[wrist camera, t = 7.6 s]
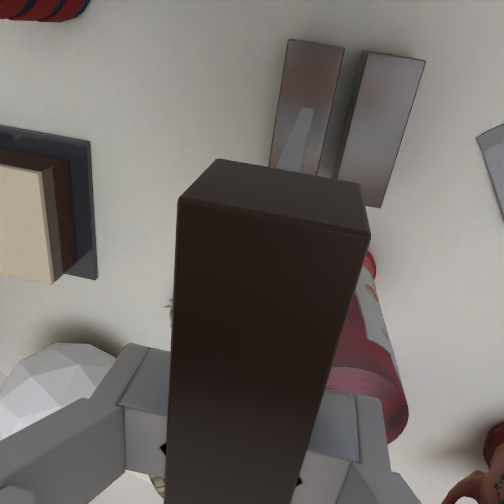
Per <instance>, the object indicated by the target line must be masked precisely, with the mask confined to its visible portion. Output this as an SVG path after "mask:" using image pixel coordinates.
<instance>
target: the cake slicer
mask: <svg viewBox="0 0 504 504" xmlns="http://www.w3.org/2000/svg"><path fill="white" fill-rule="evenodd" d="M313 114H314V109H311V108H305V107H302V109H301V111H300V113H299V116H298V118H297V120H296V123H295V125H294V127H293V130H292V132H291V134H290V137H289V139H288V142H287V144H286V146H285V149H284V151H283V153H282V156H281V158H280V160H279V163H278V165H277V167H276V169H275V168H270V167H264V166H259V165H253V164H247V163H242V162H236V161H231V160H225V159H216V160H215V161H214V162H213V163H212V164H211V165H210V166H209V167H208V168H207V169H206V170H205V171H204V172H203V173H202V174H201V175H200V177H199V178H198V179H197V180H196V181H195V182H194V183H193V184H192V185H191V186H190V187H189V188H188V189H187V190H186V191H185V192H184V193H183V194H182V195H181V196H180V197H179V199H178V202H177V224H176V246H175V268H174V289H173V311H172V333H171V355H170V377H169V399H168V420H167V442H166V464H165V486H164V504H291V501H292V497H293V494H294V491H295V488H296V484H297V481H298V478H299V474H300V471H301V468H302V464H303V461H304V458H305V455H306V451H307V448H308V445H309V441H310V438H311V435H312V431H313V428H314V425H315V422H316V418H317V415H318V412H319V408H320V405H321V402H322V398H323V395H324V392H325V389H326V385H327V382H328V379H329V375H330V372H331V369H332V365H333V362H334V359H335V356H336V352H337V349H338V346H339V342H340V339H341V336H342V332H343V329H344V326H345V323H346V319H347V316H348V313H349V309H350V306H351V303H352V299H353V296H354V293H355V290H356V286H357V283H358V280H359V276H360V273H361V270H362V266H363V263H364V260H365V257H366V253H367V250H368V247H369V243H370V240H371V233H370V228H369V223H368V219H367V214H366V209H365V204H364V199H363V195H362V190H361V185H360V184H358V183H354V182H348V181H343V180H337V179H331V178H326V177H320V176H315V175H309V174H303V173H302V171H303V166H304V160H305V155H306V150H307V145H308V140H309V135H310V130H311V125H312V119H313Z"/></svg>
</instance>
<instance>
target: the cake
mask: <svg viewBox="0 0 504 504" xmlns="http://www.w3.org/2000/svg"><path fill="white" fill-rule="evenodd" d="M0 274H3V275H8V276H12V277H17V278H22V279H26V280H31V281H35V282H40V283H44V284H49V285H52V284H53V283H54V282H55V281H56V280H58V279H59V278H60V277H61V276H62V275H63V274H69V275H73V276H78V277H83V278H87V279H92V280H96V279H97V278H98V276H97V259H96V241H95V224H94V206H93V189H92V171H91V154H90V142H89V141H83V140H78V139H72V138H67V137H62V136H56V135H51V134H45V133H40V132H35V131H29V130H24V129H19V128H13V127H8V126H2V125H0Z"/></svg>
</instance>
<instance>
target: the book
mask: <svg viewBox="0 0 504 504" xmlns="http://www.w3.org/2000/svg"><path fill="white" fill-rule="evenodd" d="M89 1H90V0H0V19H6V18H7V19H9V20H24V21H36V20H37V21H39V22H63V21H65V20H69V19H72V18H75V17H77V16H78V15H79V14H81V13H82V12H83V11H84V10H85V8H86V6H87V5H88V3H89Z"/></svg>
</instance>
